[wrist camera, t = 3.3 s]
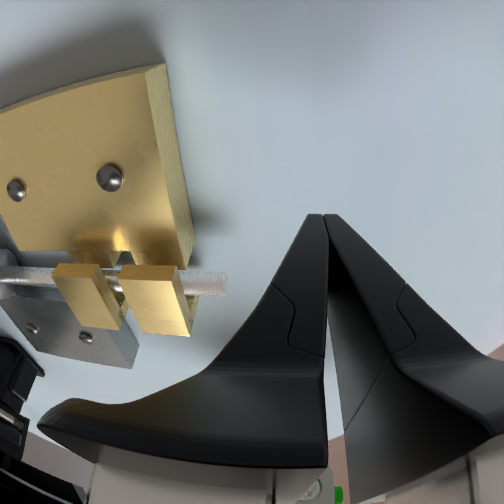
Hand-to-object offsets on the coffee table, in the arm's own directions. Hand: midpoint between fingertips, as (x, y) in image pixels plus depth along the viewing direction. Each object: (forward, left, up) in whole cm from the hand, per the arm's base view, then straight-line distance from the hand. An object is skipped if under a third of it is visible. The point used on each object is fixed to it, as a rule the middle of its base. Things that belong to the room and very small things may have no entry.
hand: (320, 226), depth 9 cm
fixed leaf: (-12, -8, -4) cm, 15 cm away
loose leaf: (-9, -1, -4) cm, 10 cm away
